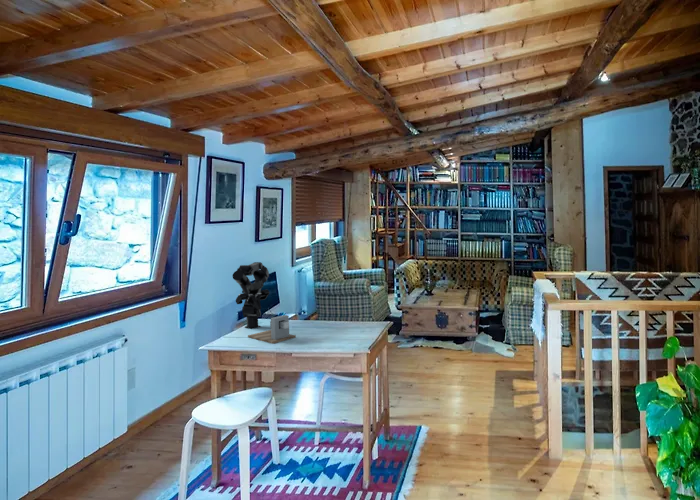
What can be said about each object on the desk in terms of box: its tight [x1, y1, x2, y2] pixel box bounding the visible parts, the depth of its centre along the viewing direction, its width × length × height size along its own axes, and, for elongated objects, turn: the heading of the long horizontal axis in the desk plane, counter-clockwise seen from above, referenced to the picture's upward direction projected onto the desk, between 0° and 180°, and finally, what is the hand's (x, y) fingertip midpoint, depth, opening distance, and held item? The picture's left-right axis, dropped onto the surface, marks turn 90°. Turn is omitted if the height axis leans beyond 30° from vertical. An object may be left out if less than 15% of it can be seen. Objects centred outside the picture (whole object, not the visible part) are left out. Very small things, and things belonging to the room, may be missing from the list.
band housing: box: [269, 314, 290, 340], centre depth 249 cm, size 3×9×10 cm, turn 138°
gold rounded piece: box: [279, 320, 290, 329], centre depth 248 cm, size 8×5×5 cm, turn 48°
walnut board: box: [247, 329, 297, 345], centre depth 254 cm, size 20×15×1 cm
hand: (260, 309), depth 259 cm, fingers closed
